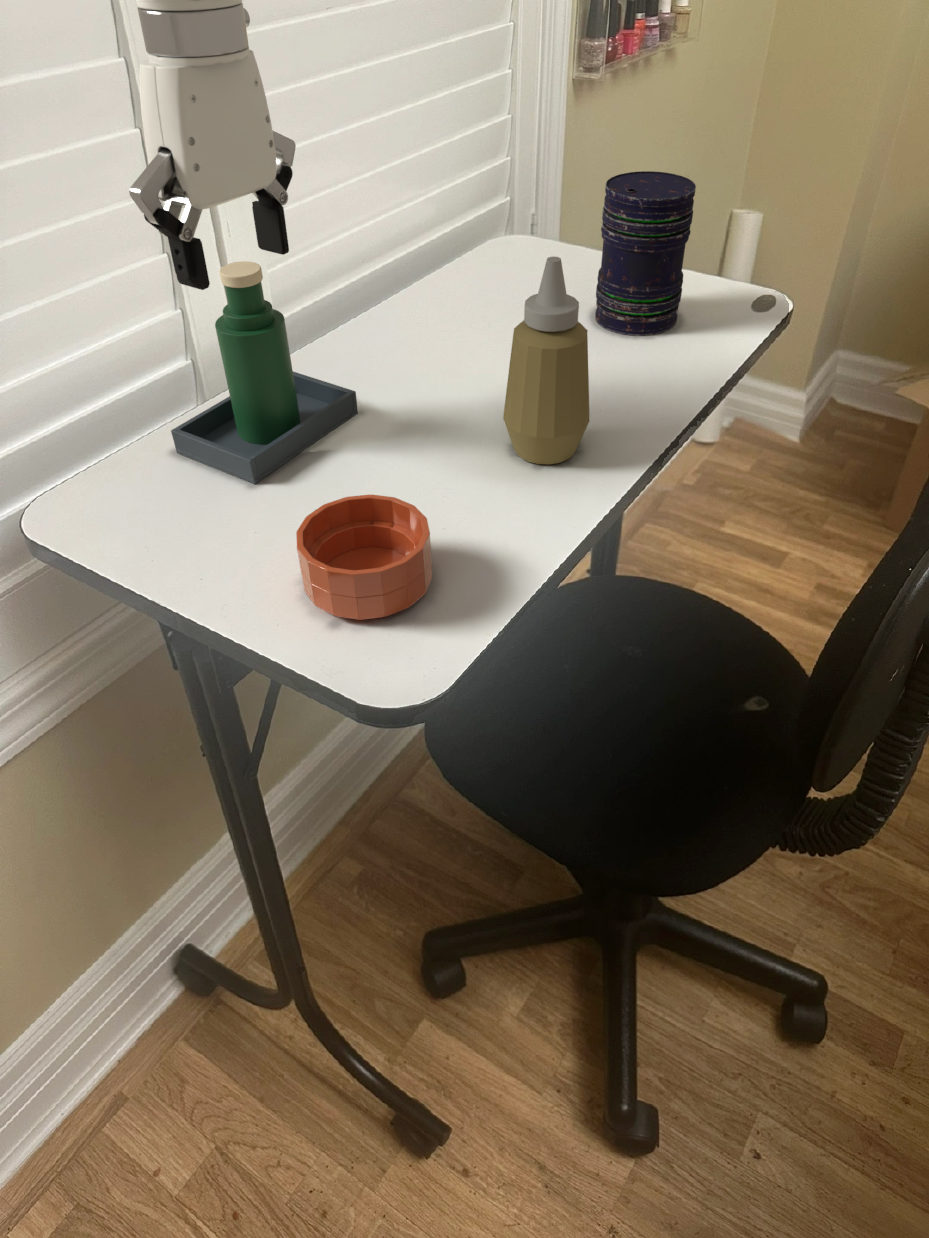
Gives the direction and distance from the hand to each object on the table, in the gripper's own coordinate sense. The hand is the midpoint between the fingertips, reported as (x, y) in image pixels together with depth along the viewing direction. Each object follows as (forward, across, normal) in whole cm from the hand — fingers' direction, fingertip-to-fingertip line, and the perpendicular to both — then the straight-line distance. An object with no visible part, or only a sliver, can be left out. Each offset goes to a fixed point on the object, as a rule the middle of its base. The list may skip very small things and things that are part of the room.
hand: (235, 268), depth 78 cm
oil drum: (+16, -44, +19) cm, 50 cm away
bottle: (+16, -1, 0) cm, 16 cm away
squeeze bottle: (+16, -12, +25) cm, 32 cm away
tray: (+16, -1, 0) cm, 16 cm away
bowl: (+17, +12, +23) cm, 31 cm away
